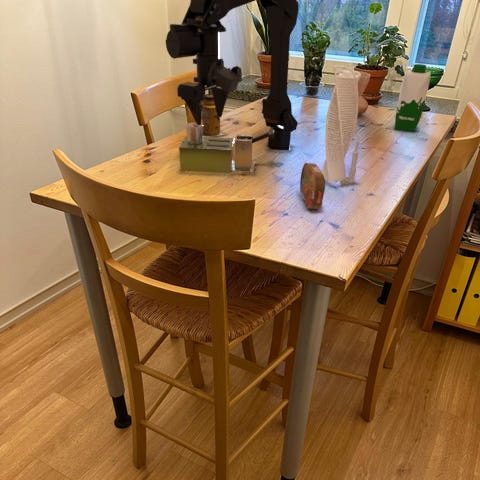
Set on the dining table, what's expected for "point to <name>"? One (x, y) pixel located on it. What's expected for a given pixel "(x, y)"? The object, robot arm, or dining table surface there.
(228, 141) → the toaster slots
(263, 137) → the toaster lever
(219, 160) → the toaster
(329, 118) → the skyscraper
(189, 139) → the translucent cup
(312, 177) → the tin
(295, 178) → the dining table surface
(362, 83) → the ceramic jug
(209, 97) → the condiment
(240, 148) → the lever bracket
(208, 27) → the robot arm
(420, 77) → the milk carton
